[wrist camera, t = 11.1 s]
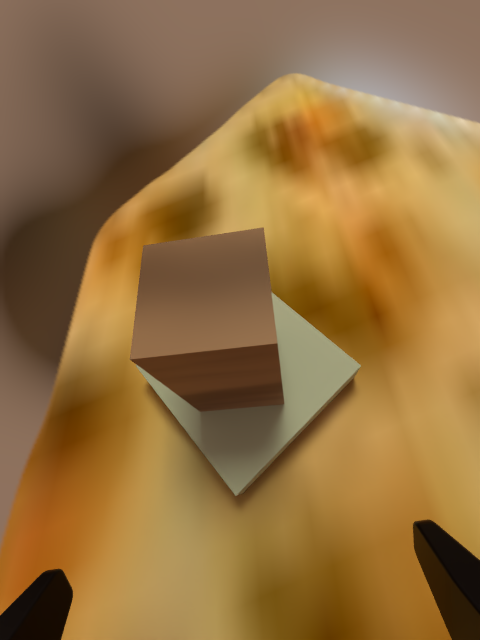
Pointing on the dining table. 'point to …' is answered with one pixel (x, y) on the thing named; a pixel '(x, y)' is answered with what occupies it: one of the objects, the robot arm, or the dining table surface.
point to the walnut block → (209, 321)
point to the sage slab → (267, 421)
